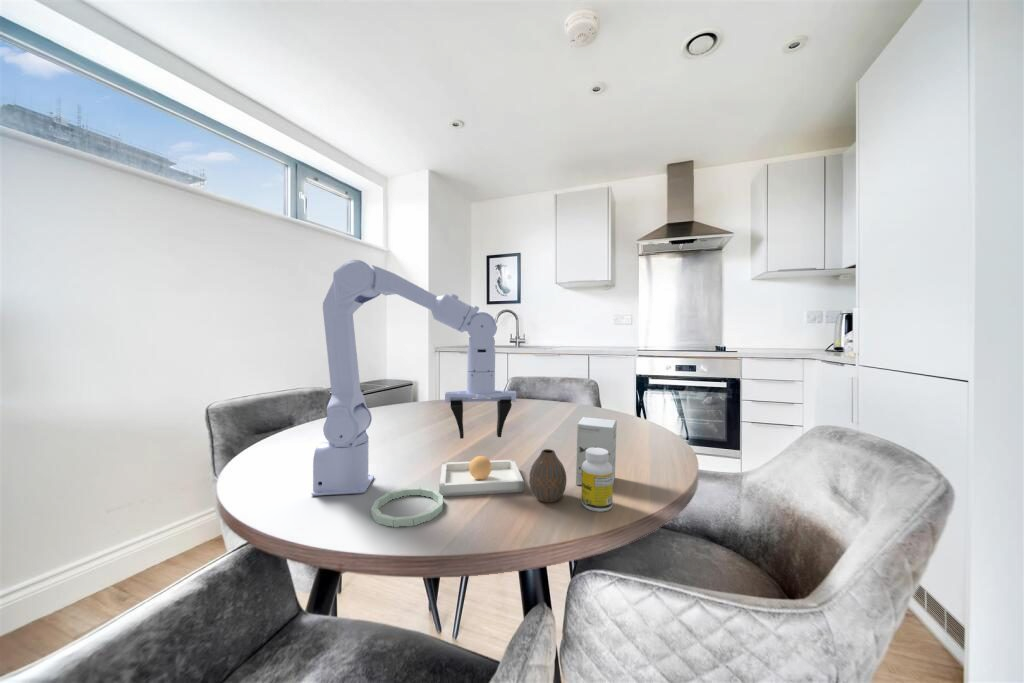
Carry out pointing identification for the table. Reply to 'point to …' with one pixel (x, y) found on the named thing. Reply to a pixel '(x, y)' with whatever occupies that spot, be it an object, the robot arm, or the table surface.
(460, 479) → the tray
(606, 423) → the supplement box
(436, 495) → the ring
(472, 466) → the ball
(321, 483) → the robot arm
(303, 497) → the table surface
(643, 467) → the table surface
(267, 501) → the table surface
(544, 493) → the vase
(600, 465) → the supplement bottle
